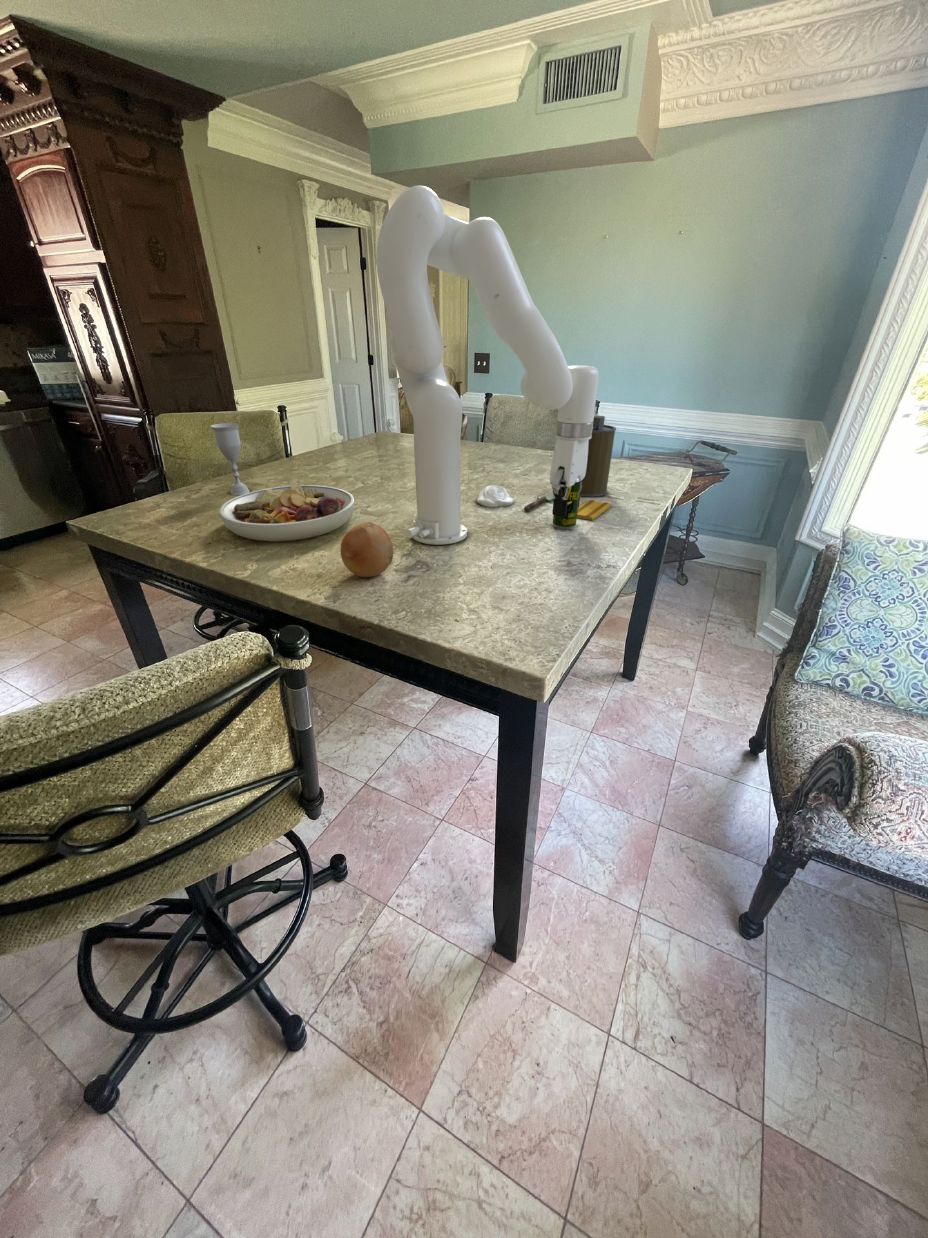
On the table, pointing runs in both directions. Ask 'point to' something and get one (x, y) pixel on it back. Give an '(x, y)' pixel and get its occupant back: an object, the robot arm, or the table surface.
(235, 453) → the chalice
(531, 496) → the table surface
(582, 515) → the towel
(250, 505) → the bowl
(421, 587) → the table surface
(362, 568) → the onion
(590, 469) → the canister
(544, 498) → the spatula
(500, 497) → the rose
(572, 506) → the beer can
